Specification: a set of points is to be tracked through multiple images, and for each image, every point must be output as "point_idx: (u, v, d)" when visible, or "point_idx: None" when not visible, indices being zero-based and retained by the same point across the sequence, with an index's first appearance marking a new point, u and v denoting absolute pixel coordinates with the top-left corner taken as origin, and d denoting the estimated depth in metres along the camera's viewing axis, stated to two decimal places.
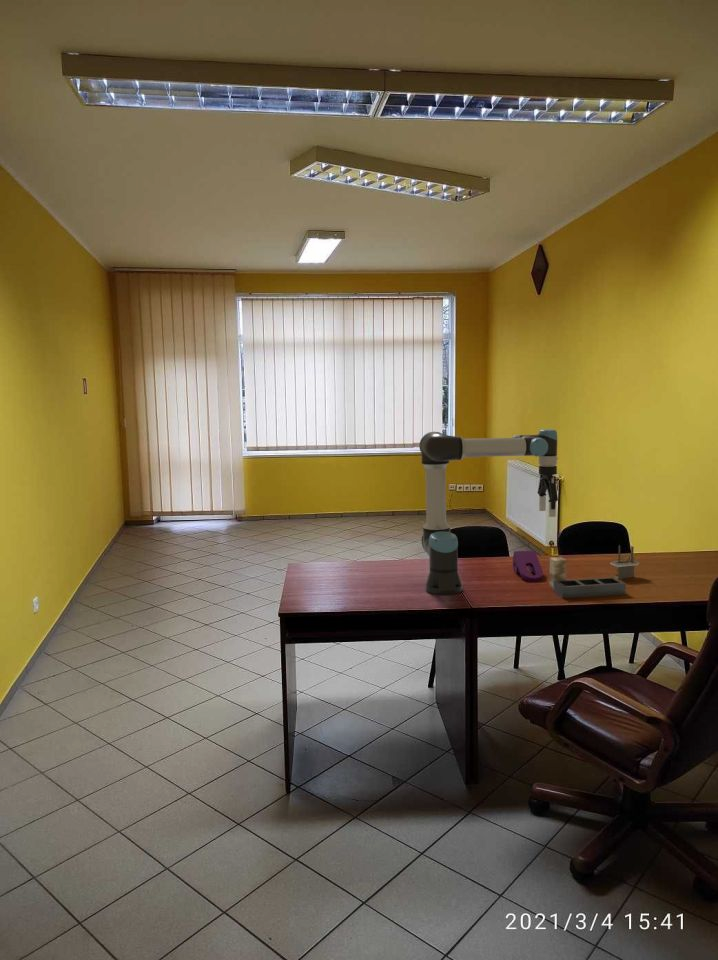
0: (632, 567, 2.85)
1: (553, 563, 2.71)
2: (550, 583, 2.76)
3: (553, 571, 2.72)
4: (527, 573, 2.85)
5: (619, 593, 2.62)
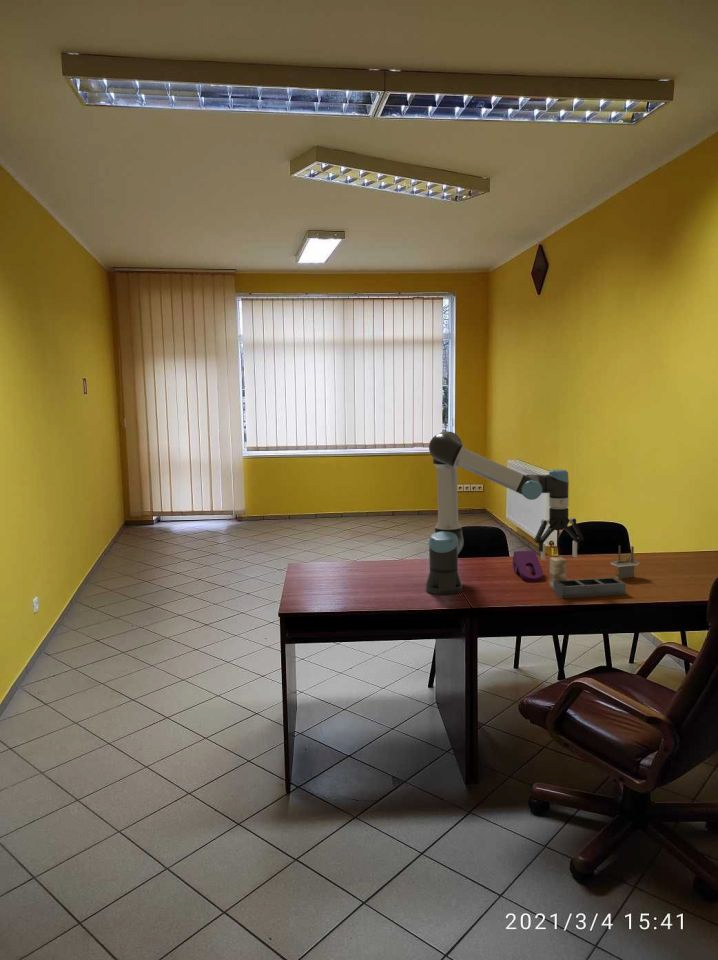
0: (632, 567, 2.85)
1: (553, 563, 2.71)
2: (550, 583, 2.76)
3: (553, 571, 2.72)
4: (527, 573, 2.85)
5: (619, 593, 2.62)
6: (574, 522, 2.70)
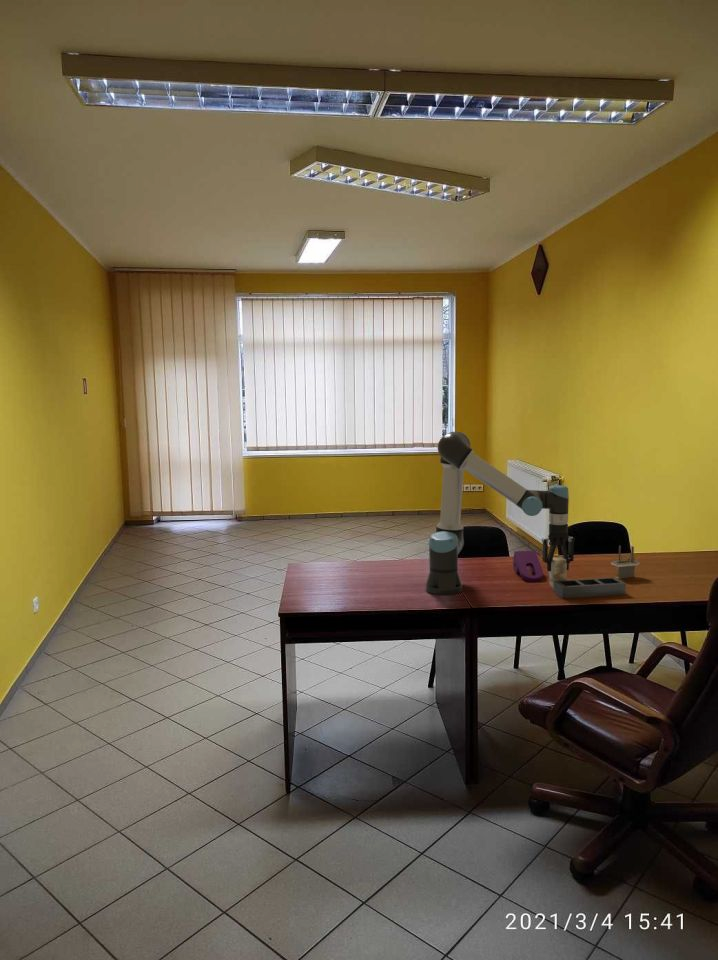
0: (632, 567, 2.85)
1: (553, 563, 2.71)
2: (550, 583, 2.76)
3: (553, 571, 2.72)
4: (527, 573, 2.85)
5: (619, 593, 2.62)
6: (572, 541, 2.71)
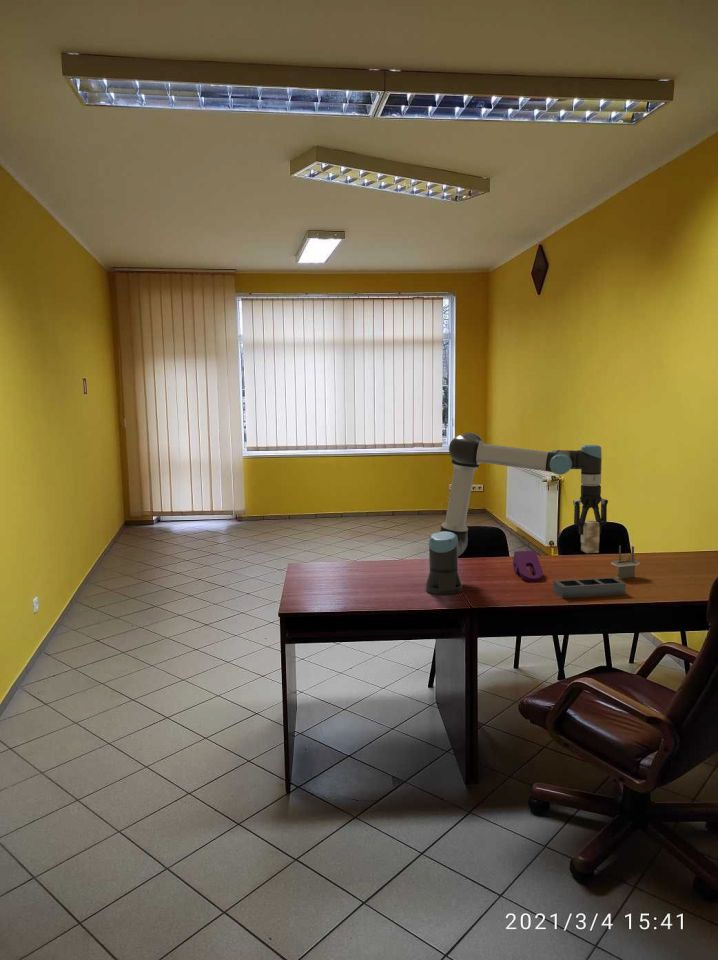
0: (633, 567, 2.85)
1: (585, 526, 2.60)
2: (582, 547, 2.64)
3: None
4: (527, 573, 2.85)
5: (619, 593, 2.62)
6: (605, 503, 2.60)
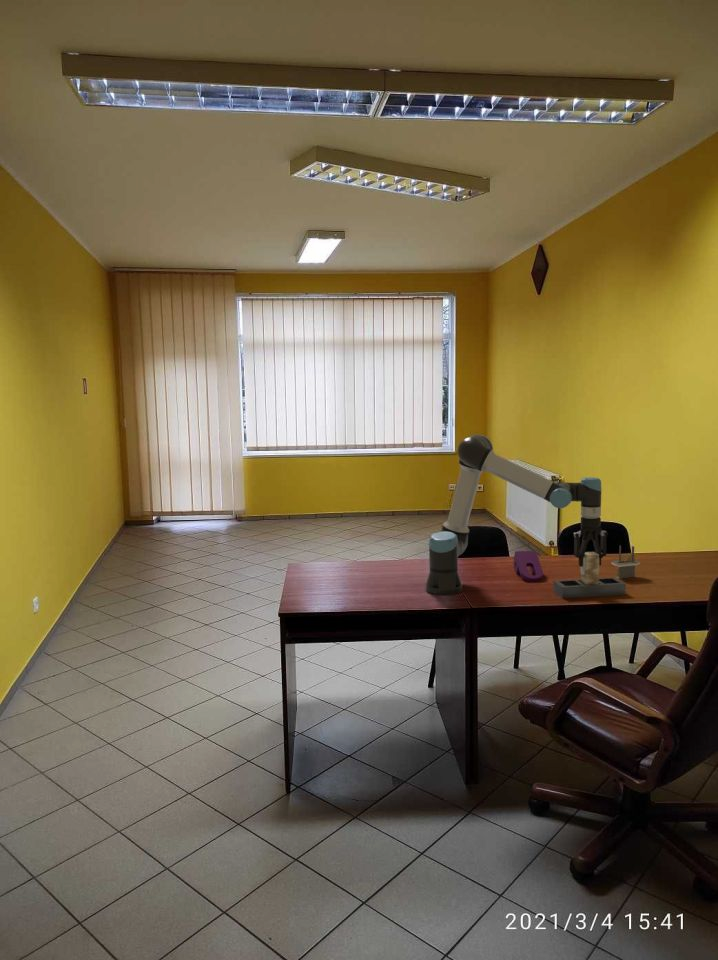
0: (633, 567, 2.85)
1: (585, 558, 2.62)
2: (582, 579, 2.66)
3: (585, 566, 2.62)
4: (527, 573, 2.85)
5: (619, 593, 2.62)
6: (605, 535, 2.62)
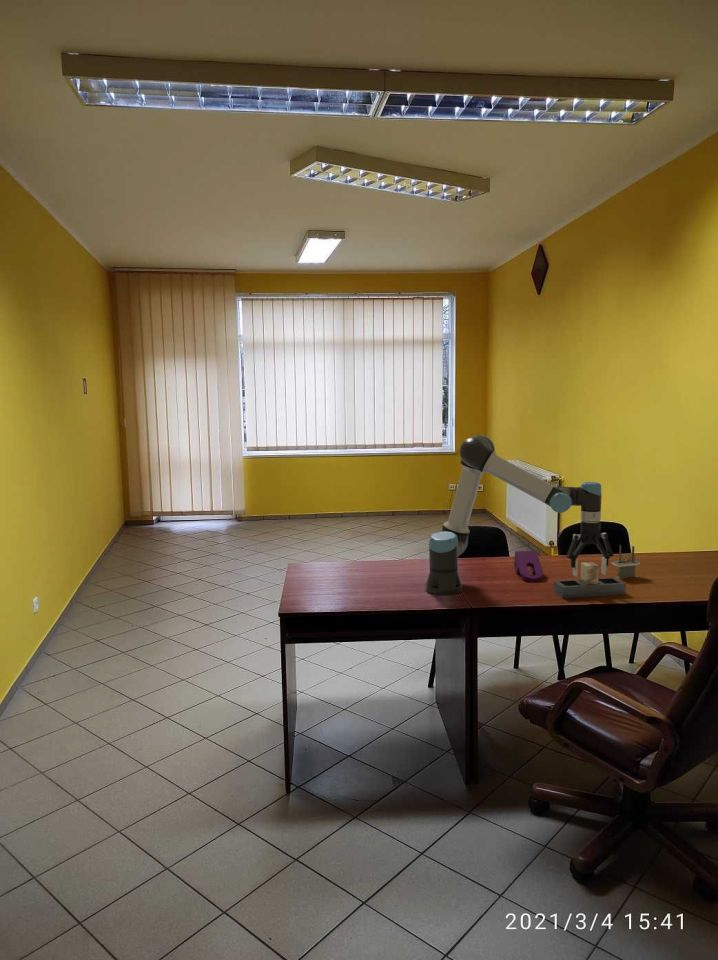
0: (633, 567, 2.85)
1: (585, 568, 2.62)
2: None
3: (585, 577, 2.63)
4: (527, 573, 2.84)
5: (619, 593, 2.62)
6: (606, 537, 2.62)
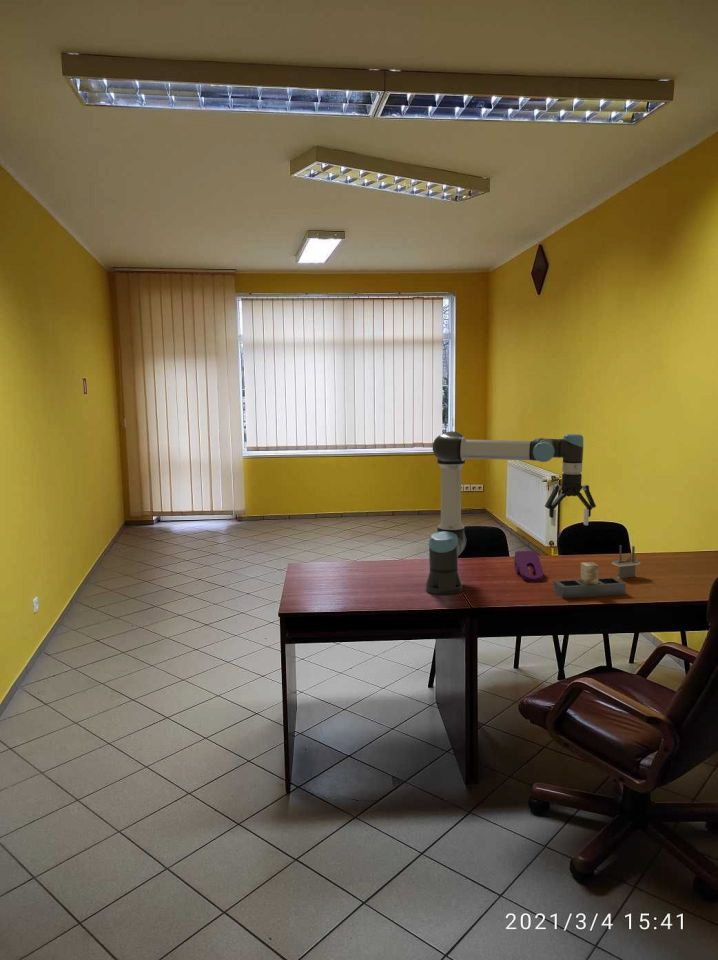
0: (633, 567, 2.85)
1: (585, 568, 2.62)
2: None
3: (585, 577, 2.63)
4: (527, 573, 2.84)
5: (619, 593, 2.62)
6: (587, 489, 2.64)
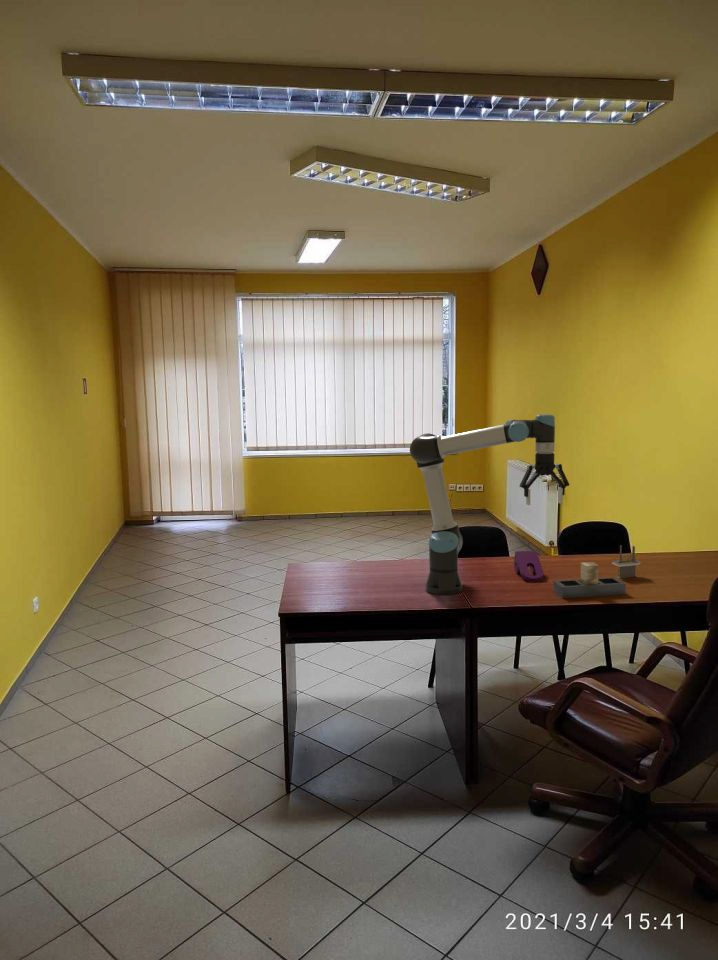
0: (633, 567, 2.86)
1: (585, 568, 2.62)
2: None
3: (585, 577, 2.63)
4: (527, 574, 2.84)
5: (619, 593, 2.62)
6: (560, 467, 2.70)
